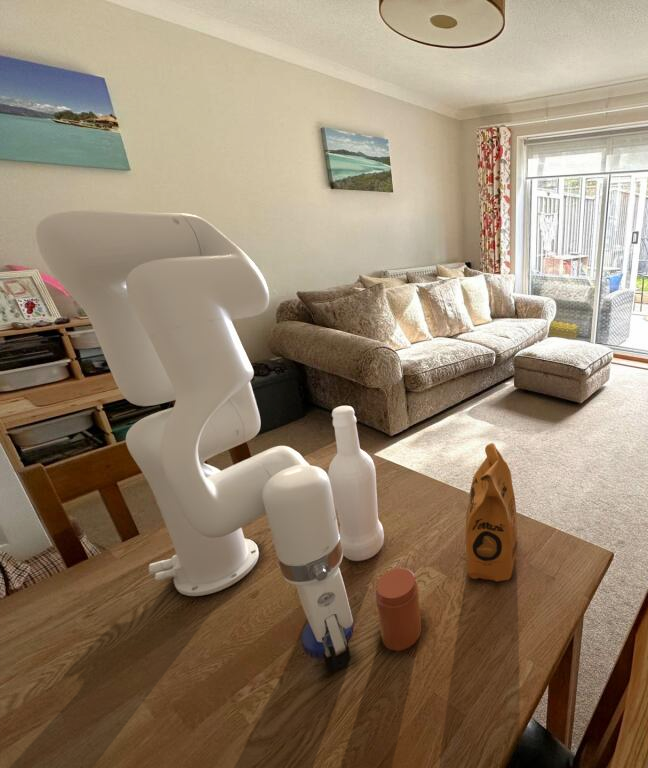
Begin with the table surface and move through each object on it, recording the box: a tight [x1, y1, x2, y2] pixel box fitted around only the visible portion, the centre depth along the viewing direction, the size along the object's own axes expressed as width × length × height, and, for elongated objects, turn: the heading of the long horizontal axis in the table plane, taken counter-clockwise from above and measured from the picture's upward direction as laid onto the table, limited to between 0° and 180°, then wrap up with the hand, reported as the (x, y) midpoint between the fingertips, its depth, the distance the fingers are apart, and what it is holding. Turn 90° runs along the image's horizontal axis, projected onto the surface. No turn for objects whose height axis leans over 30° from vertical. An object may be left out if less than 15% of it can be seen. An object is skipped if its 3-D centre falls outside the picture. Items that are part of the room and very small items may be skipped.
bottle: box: [327, 405, 385, 562], centre depth 73 cm, size 8×8×30 cm
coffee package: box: [464, 442, 518, 583], centre depth 73 cm, size 10×12×22 cm
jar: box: [375, 567, 422, 652], centre depth 61 cm, size 6×6×10 cm
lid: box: [301, 621, 354, 660], centre depth 59 cm, size 7×7×2 cm
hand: (331, 645), depth 61 cm, fingers closed on lid, 6 cm apart
